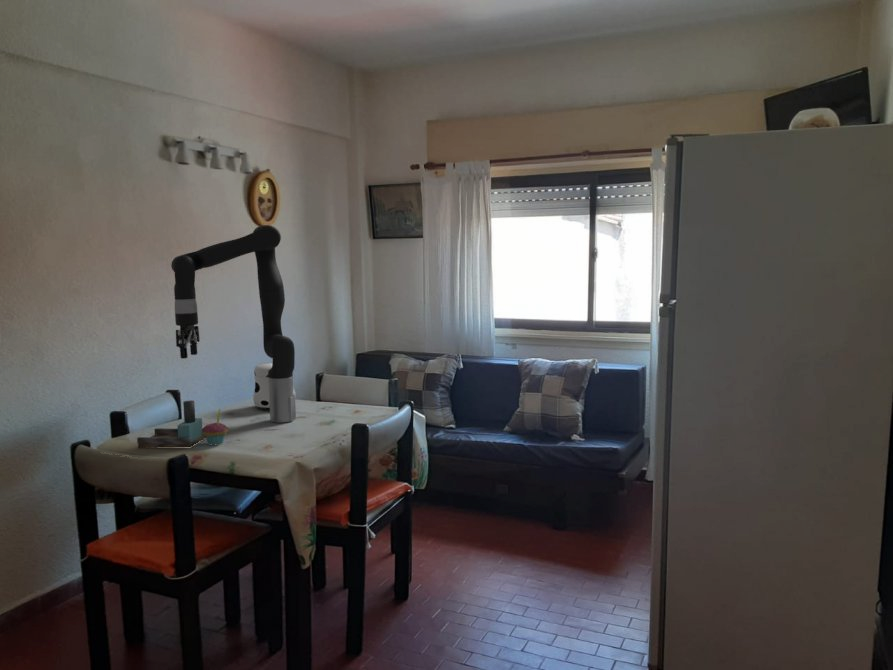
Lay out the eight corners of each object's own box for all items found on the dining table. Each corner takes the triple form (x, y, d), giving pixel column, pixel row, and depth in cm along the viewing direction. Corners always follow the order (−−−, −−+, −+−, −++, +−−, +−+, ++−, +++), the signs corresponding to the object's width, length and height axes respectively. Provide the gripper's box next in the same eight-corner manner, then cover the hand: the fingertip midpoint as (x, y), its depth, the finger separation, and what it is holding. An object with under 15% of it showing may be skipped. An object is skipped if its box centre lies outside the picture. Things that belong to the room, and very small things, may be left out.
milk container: (291, 412, 271) (289, 368, 269) (248, 412, 271) (246, 369, 269) (299, 402, 288) (298, 362, 286) (260, 403, 288) (258, 362, 286)
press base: (206, 438, 232) (205, 428, 231) (190, 448, 219) (189, 438, 219) (156, 438, 233) (155, 428, 233) (137, 448, 220) (137, 438, 220)
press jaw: (202, 435, 230) (200, 398, 229) (190, 442, 220) (187, 404, 219) (191, 434, 231) (189, 398, 229) (178, 442, 221) (176, 404, 219)
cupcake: (230, 439, 230) (228, 405, 229) (226, 446, 222) (224, 411, 220) (204, 441, 229) (202, 407, 227) (199, 447, 220) (197, 412, 219)
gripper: (188, 313, 228) (191, 359, 230) (204, 309, 242) (207, 353, 244) (166, 313, 228) (170, 359, 230) (184, 310, 242) (187, 353, 244)
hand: (189, 356), depth 237 cm, fingers open, 8 cm apart
